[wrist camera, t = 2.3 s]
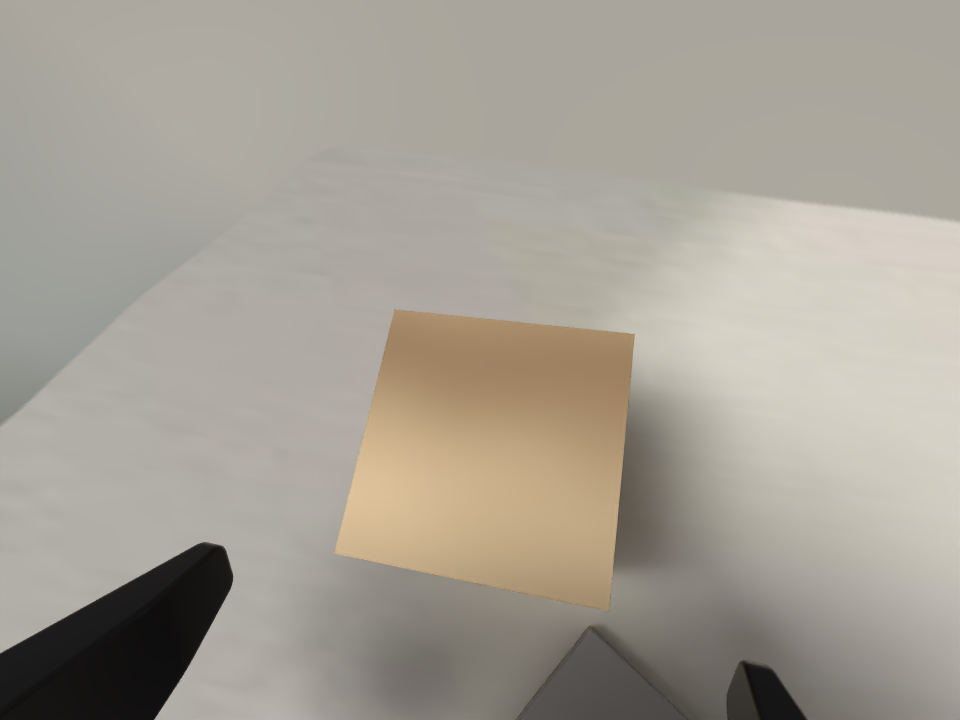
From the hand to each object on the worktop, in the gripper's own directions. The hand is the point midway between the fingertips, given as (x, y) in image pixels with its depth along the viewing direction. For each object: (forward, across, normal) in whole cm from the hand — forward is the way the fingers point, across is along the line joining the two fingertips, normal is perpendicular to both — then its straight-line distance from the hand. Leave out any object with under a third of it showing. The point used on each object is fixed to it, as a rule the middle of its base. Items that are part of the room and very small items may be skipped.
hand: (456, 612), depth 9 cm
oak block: (+9, 0, +5) cm, 11 cm away
